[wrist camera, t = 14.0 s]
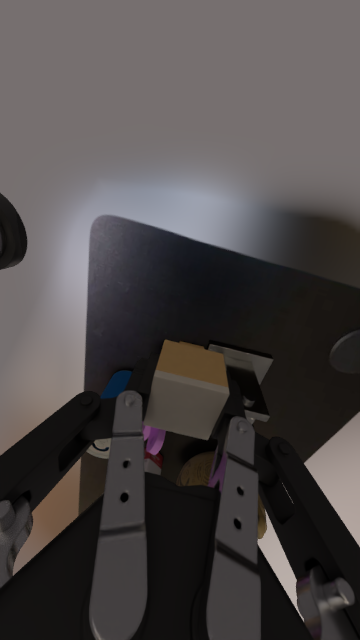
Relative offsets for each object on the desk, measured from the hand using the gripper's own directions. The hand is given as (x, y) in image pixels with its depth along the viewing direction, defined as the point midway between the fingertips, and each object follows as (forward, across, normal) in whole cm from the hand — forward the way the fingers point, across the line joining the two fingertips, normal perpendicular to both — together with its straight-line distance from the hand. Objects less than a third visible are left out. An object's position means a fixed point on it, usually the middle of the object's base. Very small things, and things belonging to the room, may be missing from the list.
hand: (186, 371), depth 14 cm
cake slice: (0, 0, 0) cm, 0 cm away
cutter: (+16, -9, +11) cm, 22 cm away
